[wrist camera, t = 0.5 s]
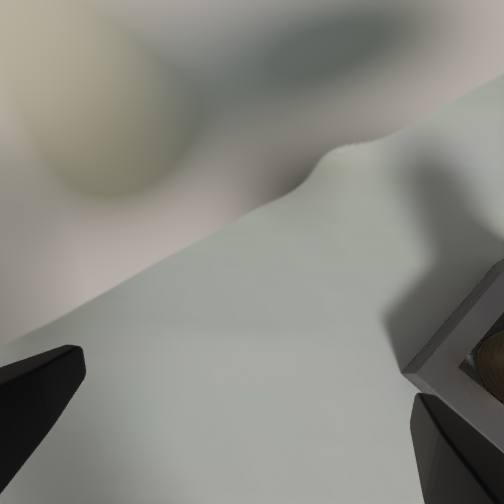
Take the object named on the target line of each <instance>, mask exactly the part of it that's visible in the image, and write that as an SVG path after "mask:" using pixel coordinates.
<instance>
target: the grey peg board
mask: <svg viewBox="0 0 504 504" xmlns="http://www.w3.org/2000/svg"><path fill="white" fill-rule="evenodd" d="M503 312H504V259H502V260H501V261H499V262H497V263H496V264H495V265H494V266H493V267H492V269H491V270H490V271H489V272H488V273H487V274H486V276H485V277H484V278H483V279H482V280H481V281H480V283H479V284H478V285H477V286H476V287H475V288H474V289H473V291H472V292H471V293H470V294H469V295H468V296H467V298H466V299H465V300H464V301H463V302H462V303H461V305H460V306H459V307H458V308H457V309H456V310H455V312H454V313H453V314H452V315H451V316H450V317H449V319H448V320H447V321H446V322H445V323H444V324H443V326H442V327H441V328H440V329H439V330H438V331H437V333H436V334H435V335H434V336H433V337H432V338H431V339H430V341H429V342H428V343H427V344H426V345H425V346H424V348H423V349H422V350H421V351H420V352H419V353H418V355H417V356H416V357H415V358H414V359H413V360H412V362H411V363H410V364H409V365H408V366H407V367H406V369H405V370H404V371H403V372H402V373H401V374H402V375H403V376H405V377H406V378H407V379H408V380H409V381H410V382H411V383H412V384H413V385H415V386H416V387H417V388H418V389H419V390H420V391H421V392H422V393H426V394H433V395H436V396H437V397H439V398H440V399H441V400H442V401H443V402H445V403H446V404H447V405H448V406H449V407H450V408H452V409H453V410H454V411H455V412H456V413H457V414H459V415H460V416H461V417H462V418H463V419H465V420H466V421H467V422H468V423H469V424H470V425H472V426H473V427H474V428H475V429H476V430H477V431H479V432H480V433H481V434H482V435H483V436H485V437H486V438H487V439H488V440H489V441H490V442H492V443H493V444H494V445H495V446H496V447H497V448H499V449H500V450H501V451H502V452H503V453H504V405H503V404H502V403H500V402H499V401H498V400H497V399H496V398H494V397H493V396H492V395H491V394H490V393H488V392H487V391H486V390H485V389H484V388H482V387H481V386H480V385H479V384H478V383H476V382H475V381H474V380H473V379H472V378H470V377H469V376H468V375H467V374H466V373H464V372H463V371H462V370H461V369H460V368H458V366H459V365H460V364H461V363H462V362H463V360H464V359H465V358H466V357H467V356H468V354H469V353H470V352H471V351H472V350H473V348H474V347H475V346H476V345H477V344H478V342H479V341H480V340H481V339H482V338H483V336H484V335H485V334H486V333H487V331H488V330H489V329H490V328H491V327H492V325H493V324H494V323H495V322H496V321H497V319H498V318H499V317H500V316H501V315H502V313H503Z"/></svg>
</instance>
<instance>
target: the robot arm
mask: <svg viewBox="0 0 504 504" xmlns="http://www.w3.org/2000/svg"><path fill="white" fill-rule="evenodd" d="M85 375H86V366H85V360H84V354H83V349H82V348H81V347H80V346H75V345H64V346H61V347H58V348H55V349H52V350H49V351H47V352H44V353H41V354H38V355H35V356H32V357H29V358H26V359H23V360H21V361H18V362H15V363H12V364H9V365H6V366H3V367H0V494H1V493H2V491H3V490H4V489H5V488H6V486H7V485H8V484H9V482H10V481H11V480H12V479H13V477H14V476H15V475H16V473H17V472H18V471H19V470H20V468H21V467H22V466H23V465H24V463H25V462H26V461H27V459H28V458H29V457H30V456H31V454H32V453H33V452H34V450H35V449H36V448H37V447H38V445H39V444H40V443H41V442H42V440H43V439H44V438H45V436H46V435H47V434H48V432H49V431H50V430H51V428H52V427H53V425H54V424H55V423H56V421H57V420H58V418H59V417H60V415H61V414H62V412H63V410H64V409H65V407H66V406H67V404H68V403H69V401H70V400H71V398H72V397H73V395H74V394H75V392H76V391H77V389H78V388H79V386H80V385H81V383H82V381H83V380H84V378H85ZM410 430H411V436H412V441H413V446H414V452H415V457H416V462H417V468H418V473H419V478H420V483H421V489H422V493H423V498H424V502H425V504H504V453H503V452H502V451H501V450H500V449H499V448H497V447H496V446H495V445H494V444H493V443H492V442H490V441H489V440H488V439H487V438H486V437H485V436H483V435H482V434H481V433H480V432H479V431H477V430H476V429H475V428H474V427H473V426H472V425H470V424H469V423H468V422H467V421H466V420H465V419H463V418H462V417H461V416H460V415H459V414H457V413H456V412H455V411H454V410H453V409H452V408H450V407H449V406H448V405H447V404H446V403H445V402H443V401H442V400H441V399H440V398H439V397H437V396H436V395H433V394H426V393H417V394H416V395H415V398H414V403H413V409H412V414H411V419H410Z"/></svg>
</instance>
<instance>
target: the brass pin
mask: <svg viewBox="0 0 504 504" xmlns="http://www.w3.org/2000/svg"><path fill="white" fill-rule="evenodd" d="M477 368H478V372H479V375H480V377H481V379H482V381H483V383H484V384H485V386H486V387H487V388H488V389H489V391H490V392H492V393H493V394H494V395H495V396H496V397H497V398H499V399H500V400H502V401H503V402H504V331H503V332H499V333H495V334H493V335H491V336H489V337H488V338H487V339H486V340H485V341H484V342H483V343H482V344H481V346H480V348H479V350H478V354H477Z"/></svg>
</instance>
